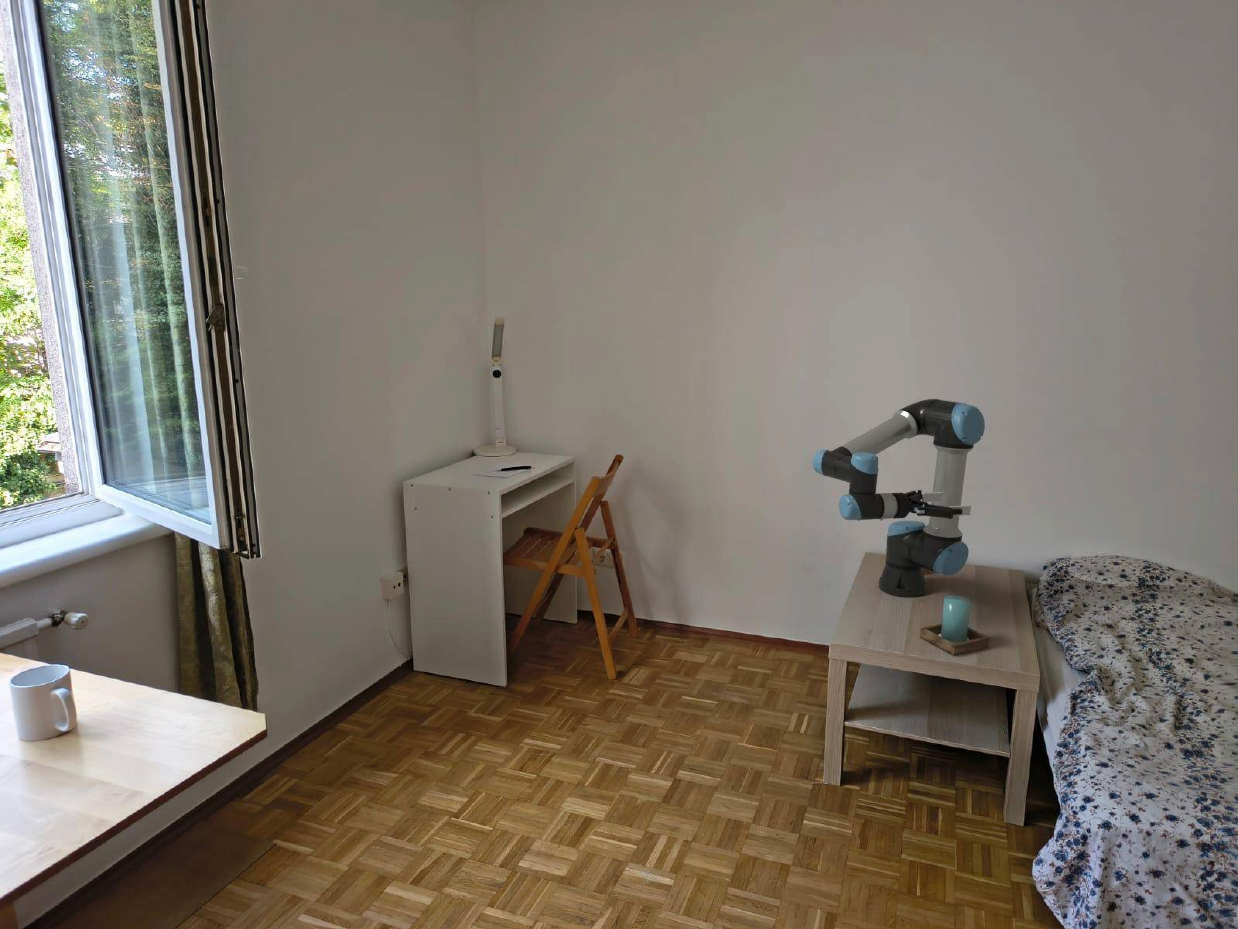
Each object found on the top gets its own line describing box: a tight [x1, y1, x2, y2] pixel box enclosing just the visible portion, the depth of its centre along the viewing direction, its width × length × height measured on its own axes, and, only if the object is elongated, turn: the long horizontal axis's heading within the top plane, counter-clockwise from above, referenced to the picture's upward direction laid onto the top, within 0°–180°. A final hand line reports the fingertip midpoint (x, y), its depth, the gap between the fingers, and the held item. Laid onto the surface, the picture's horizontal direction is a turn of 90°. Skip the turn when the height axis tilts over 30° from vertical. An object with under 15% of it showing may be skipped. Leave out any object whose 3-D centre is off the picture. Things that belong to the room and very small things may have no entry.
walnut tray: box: [919, 622, 990, 657], centre depth 244 cm, size 13×13×3 cm
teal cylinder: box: [941, 595, 972, 644], centre depth 242 cm, size 7×7×12 cm
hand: (956, 503), depth 253 cm, fingers open, 13 cm apart
